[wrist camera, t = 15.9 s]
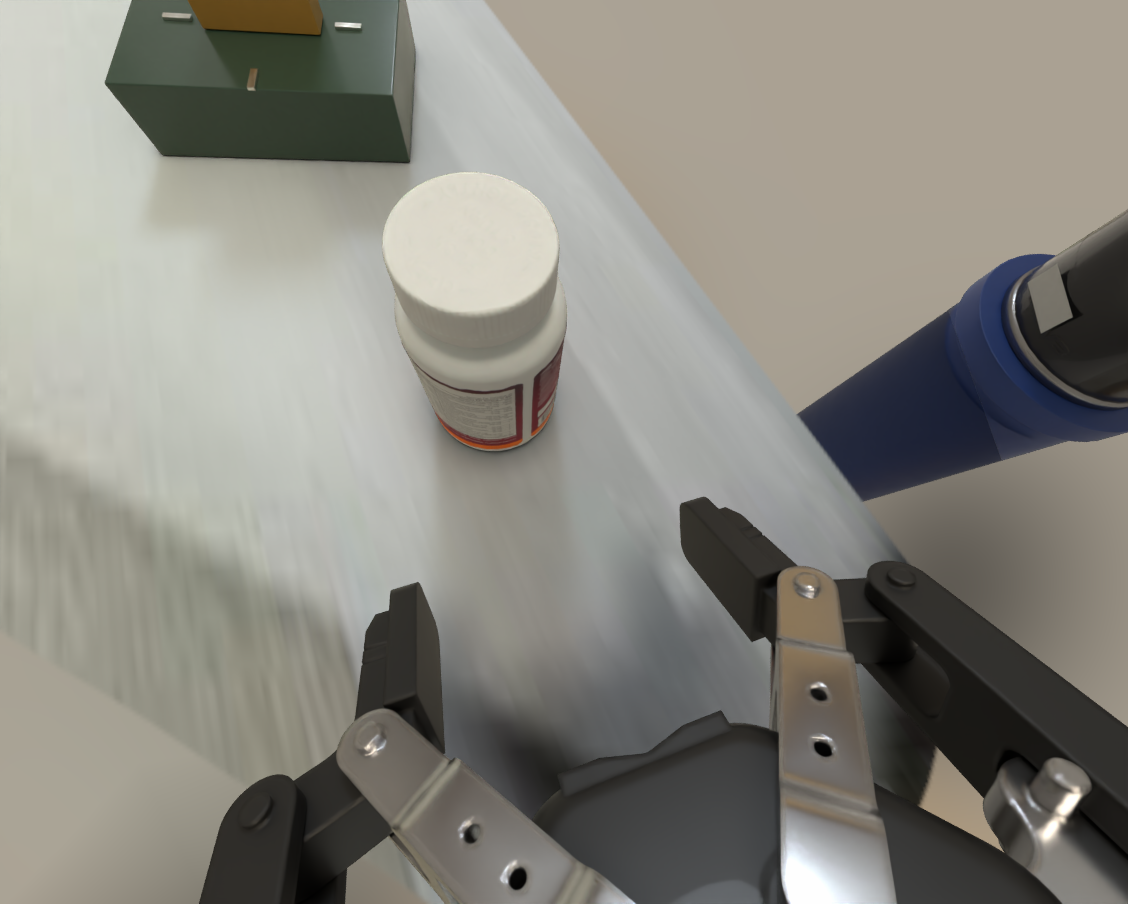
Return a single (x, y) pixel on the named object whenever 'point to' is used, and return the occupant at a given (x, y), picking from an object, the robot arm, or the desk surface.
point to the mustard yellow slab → (260, 15)
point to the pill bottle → (479, 304)
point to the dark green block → (270, 83)
